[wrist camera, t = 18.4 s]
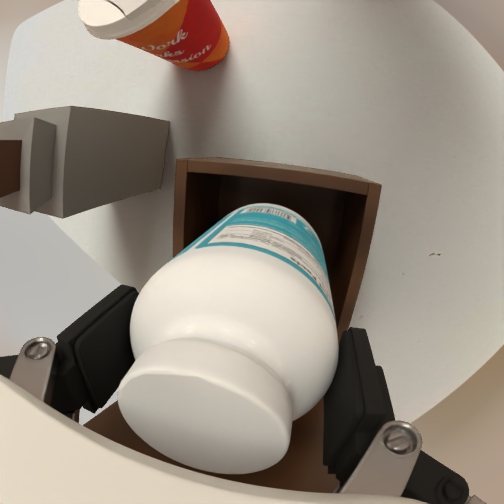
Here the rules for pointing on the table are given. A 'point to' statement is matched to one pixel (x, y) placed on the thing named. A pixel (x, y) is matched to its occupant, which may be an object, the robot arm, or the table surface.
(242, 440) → the pill bottle
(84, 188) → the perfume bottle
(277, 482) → the chest lid
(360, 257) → the chest
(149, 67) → the table surface
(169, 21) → the paper cup
